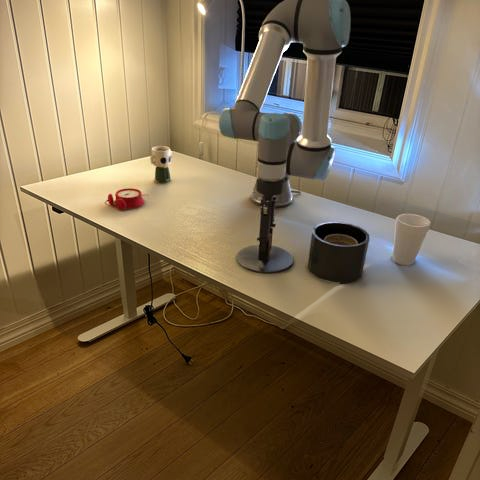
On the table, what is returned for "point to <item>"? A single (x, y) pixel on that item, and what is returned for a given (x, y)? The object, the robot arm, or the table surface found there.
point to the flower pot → (340, 239)
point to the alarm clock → (126, 199)
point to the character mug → (161, 162)
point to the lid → (276, 261)
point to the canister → (337, 253)
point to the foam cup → (409, 237)
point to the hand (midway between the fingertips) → (264, 253)
